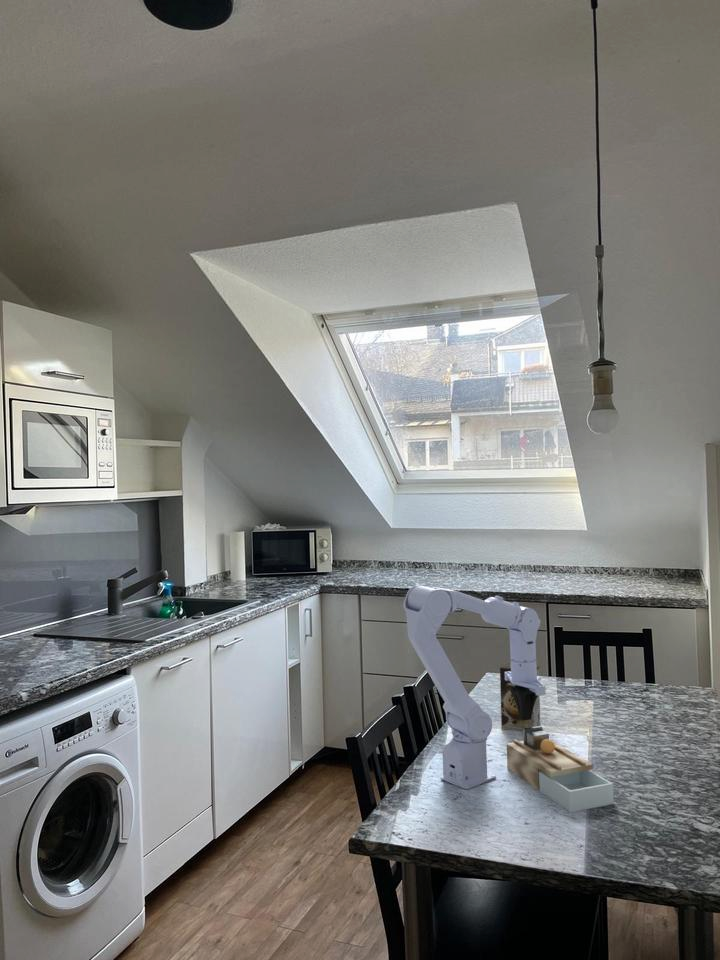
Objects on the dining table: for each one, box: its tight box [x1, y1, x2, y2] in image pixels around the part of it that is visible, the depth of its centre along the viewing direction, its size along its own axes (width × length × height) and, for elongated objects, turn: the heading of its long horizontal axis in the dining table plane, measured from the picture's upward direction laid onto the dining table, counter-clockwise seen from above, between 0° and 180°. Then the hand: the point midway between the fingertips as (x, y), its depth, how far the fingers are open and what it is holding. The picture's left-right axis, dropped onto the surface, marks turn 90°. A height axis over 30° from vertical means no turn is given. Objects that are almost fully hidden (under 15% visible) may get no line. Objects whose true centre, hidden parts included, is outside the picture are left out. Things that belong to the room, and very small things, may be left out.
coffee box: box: [499, 662, 541, 732], centre depth 195 cm, size 9×6×16 cm
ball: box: [541, 738, 555, 754], centre depth 161 cm, size 3×3×3 cm
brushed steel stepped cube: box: [522, 726, 550, 750], centre depth 165 cm, size 4×4×4 cm
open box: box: [539, 770, 615, 813], centre depth 151 cm, size 11×10×4 cm
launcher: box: [506, 739, 594, 791], centre depth 161 cm, size 18×10×6 cm, turn 18°
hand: (525, 719), depth 169 cm, fingers closed
